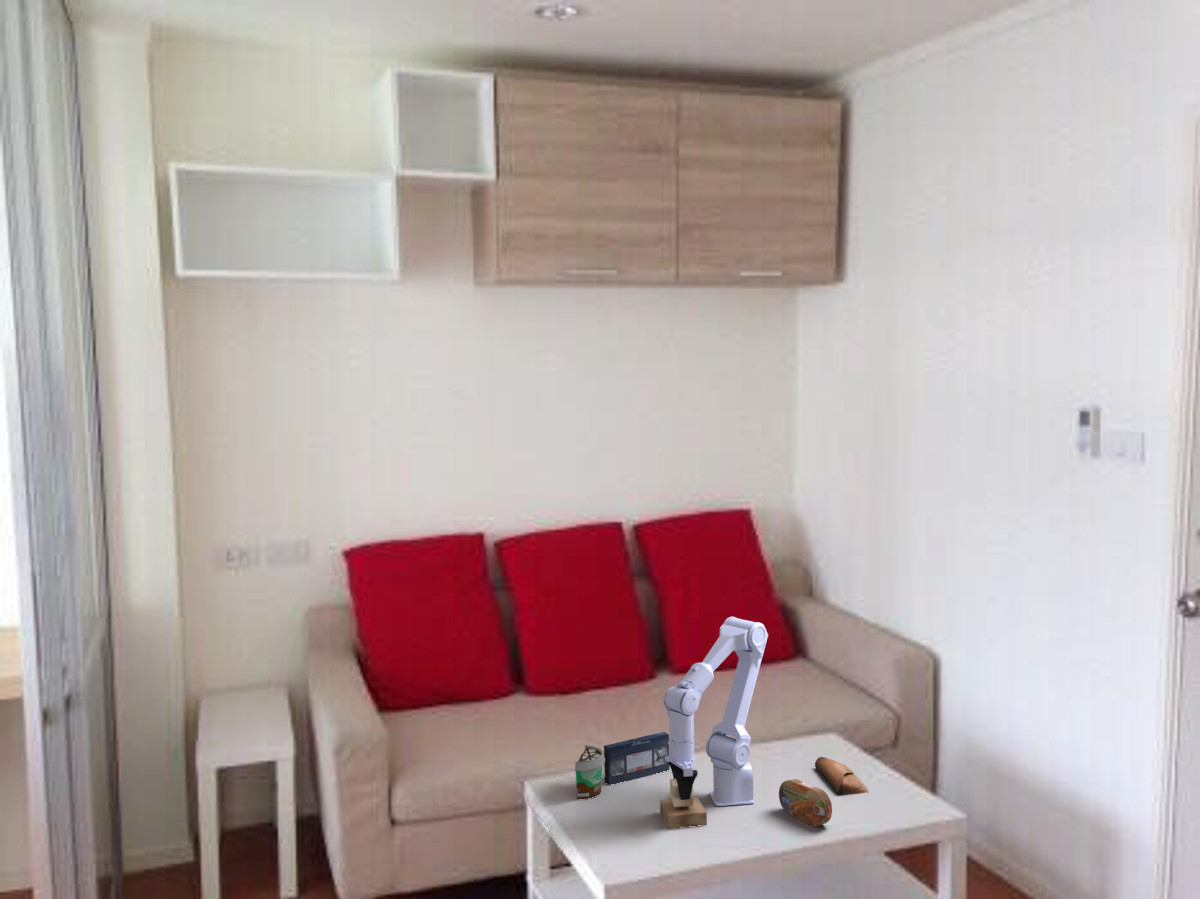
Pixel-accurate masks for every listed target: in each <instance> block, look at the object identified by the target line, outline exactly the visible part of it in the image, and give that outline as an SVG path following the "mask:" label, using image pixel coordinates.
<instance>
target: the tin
mask: <svg viewBox="0 0 1200 899" xmlns="http://www.w3.org/2000/svg"><path fill="white" fill-rule="evenodd" d="M778 798H779V803H780V805H781V808H782V809H783V811H784V813H786V814H787V816H790V817H793V818H794V819H797V820H798V821H801V822H803V823H806V824H808V825H810V826H812V827H820V826H822V825H825V824H827V823H829V821H830V820H831V818H832V815H833V806H832V801H831V798H830V796H829V795H828V794H827V792H825V790H823V789H821V788H820V787H817V786H815V785H812V784H809V783H807V782H804V781H802V780H799V779H797V778H796V779H795V778H794V779H793V778H792V779H787V780H785V781H783V782H782V783H781V784H780V786H779V790H778Z"/></svg>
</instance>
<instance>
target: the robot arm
mask: <svg viewBox="0 0 1200 899" xmlns="http://www.w3.org/2000/svg"><path fill="white" fill-rule="evenodd" d="M768 638H769V633H768V632H767V629H766V627H765V624H763V623H761V622H758V621H757V622H755V621H751V620H746V619H741V618H738V617H736V616H730V617H727V618H726V619H725V620H724V622H723V623H722V625H721V626H720V628H719V637H718V638H717V640H716V641H715V642H714V644H713V645H712V647H711V648H710V649H709V651H708V653H707V654H706V655H705V657H704V658H703V661H702V662H695V663H694V664H692V665H691V667H690V669H689V670H688V671H687V672H686V674H685V675H684V676H683V677H682V678H681V679H680V681H679V682H678V683H677V684H676V685H673V686H671V687H669V688H668V689H667V690H666V692H665V694H664V698H663V699H662V703H663V706H664V708H665V709H666V715H667V718H668V726H669V729H668V730H669V731H668V734H669V756H665V761H666V762H668V764H669V766H670V768H669V769H670V770H671V774H672V777H673V778H672V779H676V781H677V784H678V790H679V795H680V799H681V800H688V799H690V796H691V791H692V786H693V785H694V783H695V780H696V778H697V777H698V774H699V772H698V770H697V769H693V768H694V764H695V762H696V755H695V725H694V724H695V722H694V720H695V719H694V717H695V716H694V715H695V714H694V713H695V712H697V710H698V708H699V706H700V705H699V704H700V701H701V699H702V694H703V693H704V692H705V691H706V690H707V689H708V687H709V686H710V685H711V684H712V682H713V681H714V679H715V676H714V671H716V669H718V667H719V666H720V665H721V664H722V663H723V662H725V660H726V659H727V658H728V657H729V656H730V654H731V653H732V652H735V654H736V655H737V657H738V661H737V665H736V669H735V672H734V673H735V674H734V676H733V677H734V678H733V680H732V684H731V688H730V692H729V696H728V699H727V703H726V708H725V711H724V713H723V714H724V716H723V719H722V720H721V721H720V722H719V723H717V724H715V725H713V727H712V729H711V733H710V735H709V736H708V738H707V740H706V742H705V752H706V754H707V757H709V758H710V762H711V763H712V770H713V771H712V776H713V777H712V782H713V786H712V787H713V788H712V789H713V790H711V791H709V792H708V794H709V796H710V798H711V800H712V802H713V803H714V805H715V806H716V807H722V806H723V807H725V806H726V807H727V806H738V805H751V804H755V800H754V774H753V768H752V767H753V766H752V765H751V762H749V761H748V760H749V759H750V755H751V750H750V749H751V748H750V746H751V740H752V737H751V736H750V734H749V733H748V732H747V729H746V728H745V725H746V722H747V718H748V714H749V711H750V710H749V709H750V706H751V703H752V699H753V694H754V690H755V687H756V683H757V680H758V676H759V671H760V667H761V664H762V659H763V656H764V652H765V648H766V644H767V640H768ZM729 735H730V736H729ZM731 736H732V737H731Z"/></svg>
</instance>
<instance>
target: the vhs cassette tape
mask: <svg viewBox="0 0 1200 899" xmlns="http://www.w3.org/2000/svg"><path fill="white" fill-rule="evenodd" d="M603 754H604V758H605V763H604V764H603V765H604V771H603V772H604V777H603V778H604V783H605V784H606V783H607V785H608V786H612V785H611V784H614V785H618V784H621V783H620V782H622V783H625V782H624V781H626V782H630V781H634V780H638V779H642V778H646V777H650V776H653V774H654V775H657V774H656V773H658V774H661V773H660V772H662V773H664V772H663V771H666V772H668V771H667V770H669V771H670V769H671V768H670V765H669V764H668V762H666V761H665V756H669V755H670V738H669V733H667V731H666V732H665V731H662V732H656V733H652V734H648V735H643V736H639V737H636V738H632V739H626V740H621V741H618V742H614V743H610V744H607V745H603ZM633 779H634V780H633ZM617 783H618V784H617Z"/></svg>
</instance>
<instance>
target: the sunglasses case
mask: <svg viewBox="0 0 1200 899" xmlns="http://www.w3.org/2000/svg"><path fill="white" fill-rule="evenodd" d="M814 767H815V769H816V770H817V772H819V773H820V774H821V775H823V777H825V779H826V780H827V781H828V782H829V784H830V785H831V786H832V787H833V789H835V791H836V792H837V793H838V795H840V796H841V795H842V796H850V795H851V796H853V795H859V794H866V793H870V791H869V789H868V788H867V787H866V785H865V784H864V783H863V782H862V781H861V780H860V779H859V777H858V776H856V774H855V772H854V771H853V770H852V769H851V768H849V767H848V766H847V765H845V764H843V763H840V762H838V761H836V760H834V759H832V758H828V757H825V756H820V757H818V758H817V759H816V760H815V762H814Z"/></svg>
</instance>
